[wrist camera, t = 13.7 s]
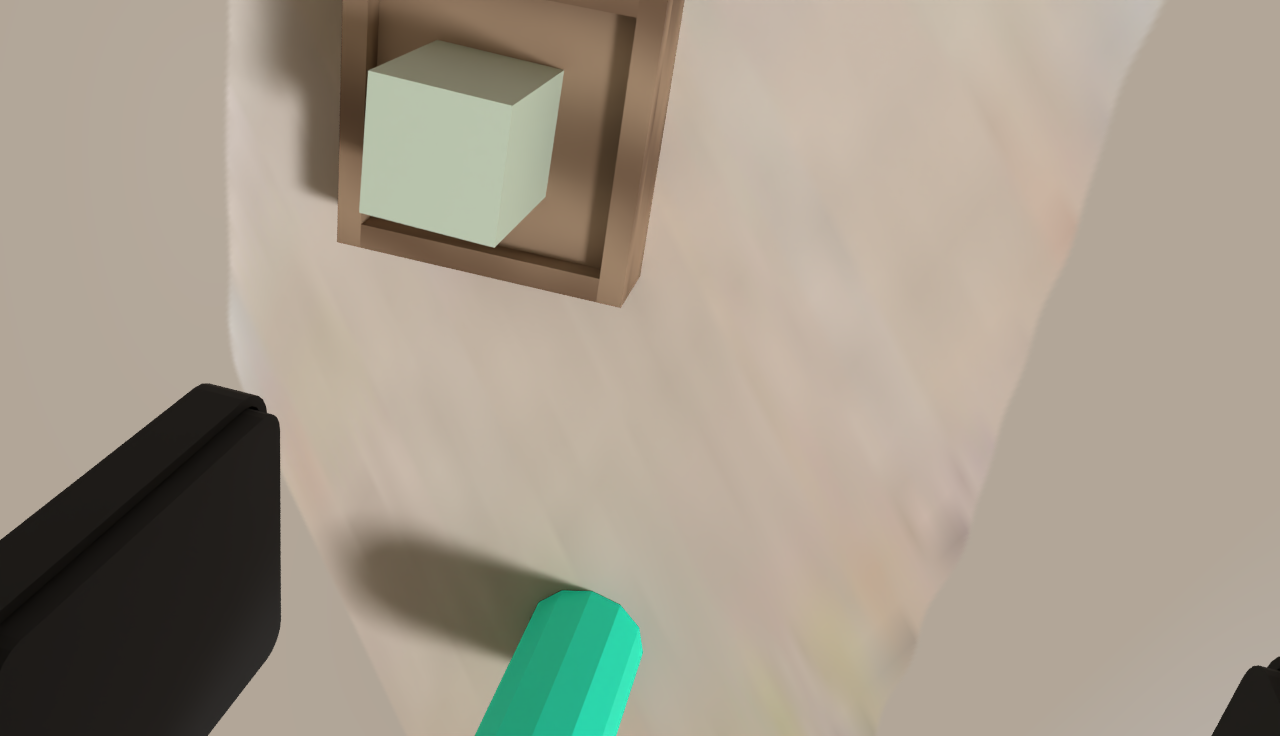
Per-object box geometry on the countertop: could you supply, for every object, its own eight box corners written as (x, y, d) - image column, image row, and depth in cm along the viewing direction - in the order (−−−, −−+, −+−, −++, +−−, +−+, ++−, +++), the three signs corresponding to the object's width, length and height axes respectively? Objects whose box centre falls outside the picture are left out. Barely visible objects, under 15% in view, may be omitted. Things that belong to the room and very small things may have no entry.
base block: (390, -78, 43) (344, -69, 40) (689, -21, 42) (669, -7, 38) (378, 212, 49) (337, 242, 45) (642, 272, 47) (620, 307, 44)
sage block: (437, 39, 42) (367, 70, 36) (564, 69, 41) (512, 105, 36) (425, 166, 44) (358, 212, 39) (545, 196, 43) (494, 247, 38)
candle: (506, 634, 57) (414, 818, 46) (572, 568, 54) (491, 747, 44) (596, 703, 58) (526, 899, 47) (667, 641, 55) (609, 835, 44)
